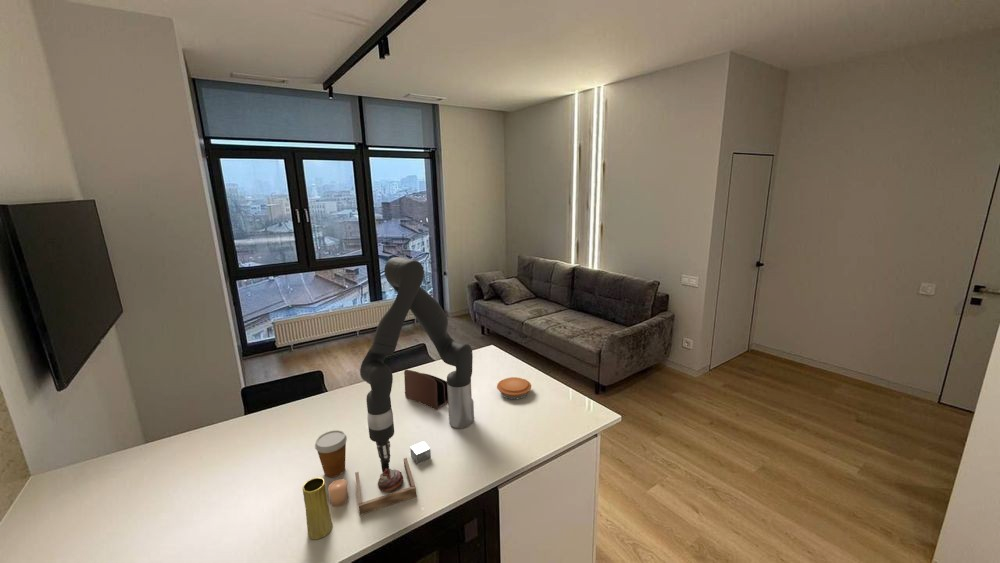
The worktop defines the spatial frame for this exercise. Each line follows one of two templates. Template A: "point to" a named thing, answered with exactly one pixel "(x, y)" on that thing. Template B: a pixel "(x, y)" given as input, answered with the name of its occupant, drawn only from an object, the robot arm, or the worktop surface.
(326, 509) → the vase
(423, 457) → the gray block
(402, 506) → the worktop surface
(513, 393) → the pie
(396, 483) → the pastry
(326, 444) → the disposable coffee cup
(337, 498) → the peach rounded blob
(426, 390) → the letter holder
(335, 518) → the worktop surface
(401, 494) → the display bay
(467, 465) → the worktop surface
